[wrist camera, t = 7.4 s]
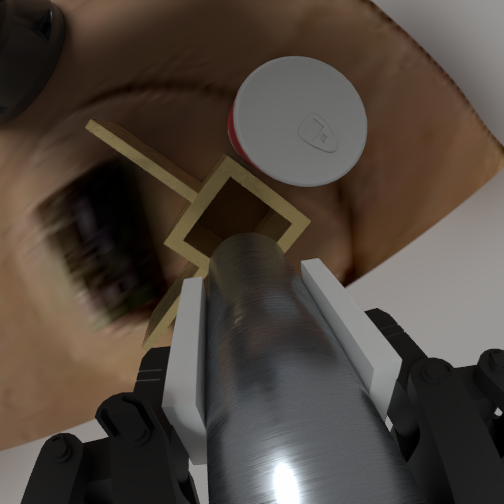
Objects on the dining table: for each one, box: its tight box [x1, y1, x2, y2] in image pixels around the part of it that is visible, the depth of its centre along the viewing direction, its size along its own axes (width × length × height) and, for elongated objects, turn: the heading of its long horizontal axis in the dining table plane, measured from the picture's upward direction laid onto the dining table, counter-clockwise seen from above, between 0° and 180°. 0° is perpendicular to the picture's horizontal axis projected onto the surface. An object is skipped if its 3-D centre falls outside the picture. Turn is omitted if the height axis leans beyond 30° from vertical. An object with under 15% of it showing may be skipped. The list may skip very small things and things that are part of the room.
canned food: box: [227, 56, 367, 187], centre depth 20 cm, size 8×8×11 cm
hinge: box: [85, 119, 311, 351], centre depth 24 cm, size 18×18×7 cm
